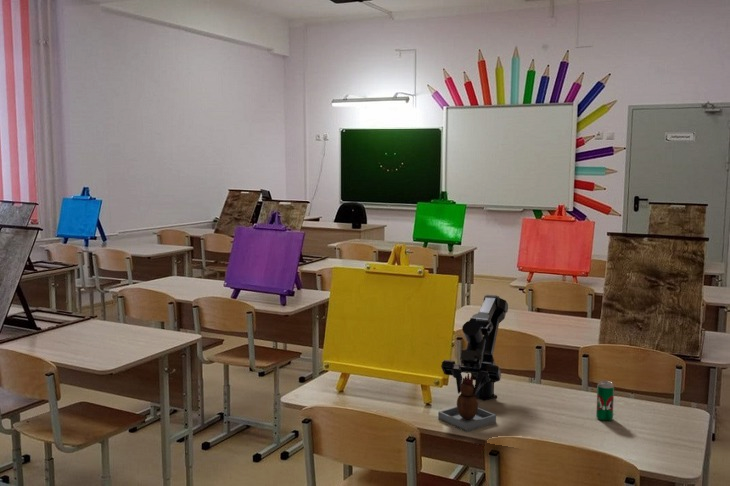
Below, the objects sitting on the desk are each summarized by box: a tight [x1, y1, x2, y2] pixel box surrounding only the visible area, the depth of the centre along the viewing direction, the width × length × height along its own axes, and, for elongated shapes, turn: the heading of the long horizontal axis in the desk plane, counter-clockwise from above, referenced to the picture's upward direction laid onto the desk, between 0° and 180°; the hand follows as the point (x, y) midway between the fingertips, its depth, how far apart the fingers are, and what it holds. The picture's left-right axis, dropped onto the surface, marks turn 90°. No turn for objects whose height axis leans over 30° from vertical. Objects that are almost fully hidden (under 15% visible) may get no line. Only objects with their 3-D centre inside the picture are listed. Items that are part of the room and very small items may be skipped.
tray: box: [437, 406, 497, 433], centre depth 217 cm, size 13×13×2 cm
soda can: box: [595, 380, 615, 422], centre depth 217 cm, size 5×5×12 cm
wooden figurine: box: [456, 373, 479, 419], centre depth 216 cm, size 7×6×15 cm
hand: (466, 394), depth 215 cm, fingers closed on wooden figurine, 5 cm apart
